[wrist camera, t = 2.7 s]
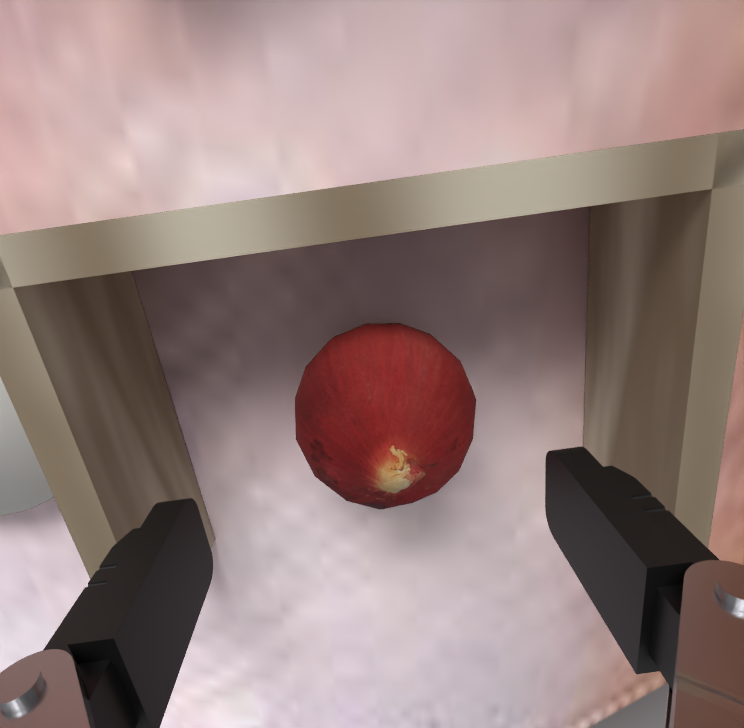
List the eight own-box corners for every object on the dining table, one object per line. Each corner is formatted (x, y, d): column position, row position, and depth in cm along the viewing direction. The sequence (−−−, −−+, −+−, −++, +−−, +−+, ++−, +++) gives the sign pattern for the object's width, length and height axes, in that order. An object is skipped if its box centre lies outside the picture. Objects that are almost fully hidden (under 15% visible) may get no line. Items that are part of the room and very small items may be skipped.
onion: (417, 451, 20) (455, 606, 13) (288, 412, 19) (246, 553, 12) (472, 329, 18) (556, 424, 11) (332, 279, 17) (317, 346, 10)
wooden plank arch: (626, 148, 16) (771, 125, 11) (608, 485, 21) (701, 592, 15) (81, 225, 16) (-59, 243, 11) (189, 542, 21) (130, 668, 16)
